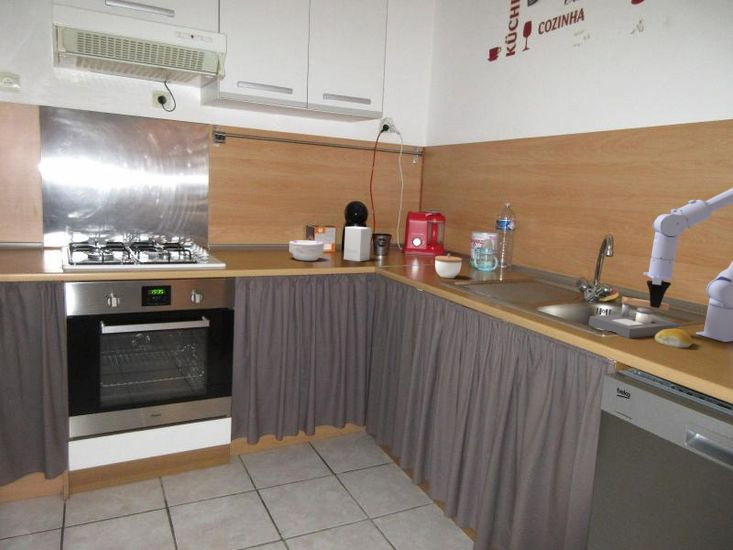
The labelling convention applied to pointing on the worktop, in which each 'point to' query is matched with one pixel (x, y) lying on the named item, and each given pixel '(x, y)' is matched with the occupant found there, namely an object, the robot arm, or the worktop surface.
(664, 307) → the tan long bar
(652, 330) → the socket panel
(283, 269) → the worktop surface
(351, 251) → the supplement box
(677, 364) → the worktop surface
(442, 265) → the lidded jar
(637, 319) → the plug
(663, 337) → the bread roll
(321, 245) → the paper bowls
